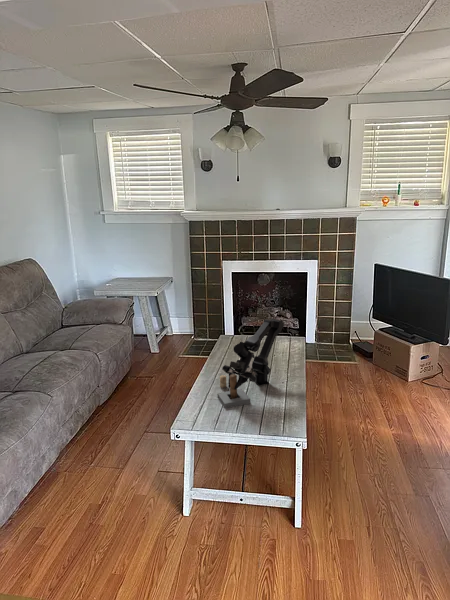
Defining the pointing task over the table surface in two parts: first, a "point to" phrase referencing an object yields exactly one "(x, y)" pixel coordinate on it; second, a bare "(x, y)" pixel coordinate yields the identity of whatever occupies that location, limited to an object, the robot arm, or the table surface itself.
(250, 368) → the medicine bottle
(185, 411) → the table surface
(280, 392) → the table surface
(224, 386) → the short beech pin
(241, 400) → the slate hole plate
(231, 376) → the walnut pin
